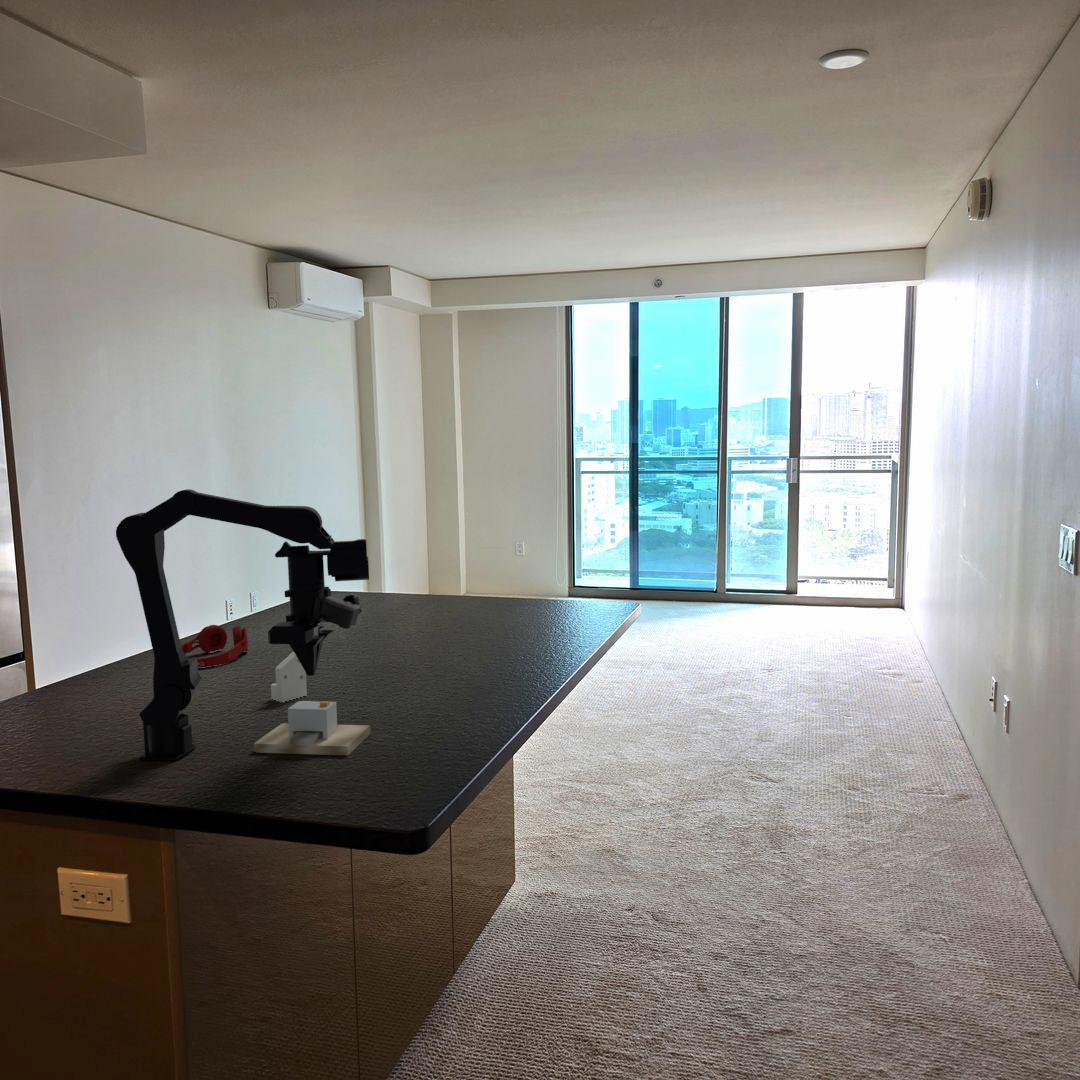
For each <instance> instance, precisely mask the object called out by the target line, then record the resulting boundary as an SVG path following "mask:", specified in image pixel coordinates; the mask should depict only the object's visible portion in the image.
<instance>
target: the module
mask: <svg viewBox="0 0 1080 1080" xmlns="http://www.w3.org/2000/svg"><path fill="white" fill-rule="evenodd" d="M337 708H338V707H337V701H329V700H322V701H308V700H307V701H302V700H301V701H300V700H299V701H296V703H294V704H292V705H291V706H289V707H288V708H287V720H288V721H287V722H288V726H289V738H291V737H293V736H294V735H295V734H296V733H298V732H299V731H323V739H328V738H330V737H331V736H332V735H333V734H334V733H335V732H337V725H338V712H337V710H338V709H337Z"/></svg>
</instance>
